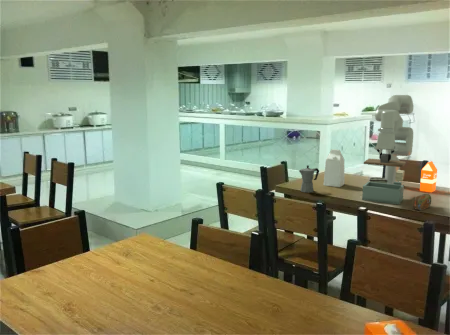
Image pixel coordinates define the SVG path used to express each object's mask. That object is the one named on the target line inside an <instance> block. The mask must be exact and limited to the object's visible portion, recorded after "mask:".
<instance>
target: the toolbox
mask: <svg viewBox="0 0 450 335" xmlns="http://www.w3.org/2000/svg"><path fill="white" fill-rule="evenodd" d="M404 188H405V187H404V185H403V181H399V182H397V181H394V184H386V183H376V182H370V181H366V183H365V184H363V185H362V193H361V194H362V196H361V198H362V199H361V200H362V201H370V202H377V203H378V202H379V203H385V204H393V205H400V204H401V203H402V201H403V200H404Z"/></svg>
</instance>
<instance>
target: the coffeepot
mask: <svg viewBox="0 0 450 335" xmlns="http://www.w3.org/2000/svg"><path fill="white" fill-rule="evenodd" d="M298 172H299V174H300V175H301V180H302V181H301V186H300V192H302V193H310V194H311V193H313V192H314V184H313V181H317V179H318V176H319V173H320V170H319V169H318V168H317V167H315V168H310V165H306V167H305V168H301V169H300V170H298ZM315 172H316V173H315ZM314 175H315V177H314Z"/></svg>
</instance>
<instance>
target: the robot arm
mask: <svg viewBox="0 0 450 335" xmlns="http://www.w3.org/2000/svg"><path fill="white" fill-rule="evenodd" d="M413 102H414V100H413V97H412V96H411V95H408V94H395V95H394V94H393V95H391V96H390V97H389V99H388V101H387V102H386V103H384V104H381V105H379V106H378V107H377V108H376V111H375V114H374V119H375V121H377V122H380V128H378V129H377V131H378V132H379V133H378V135H377V142H376V145H374V147H373V149H374V150H375V151H376V152H377V153H378V154H379V157H378V158H379V159H380V160H381V155H382V154H383V150H385V154H389V155H388V161H390V160H395V161H401V160H400V159H399V157H398V156H400V157H410V156H411V155H412V153H413V147H414V145H413V143H414V129H413V128H412V127H409V126H403V122H404V119H403V117H402V116H401V115H411V114H412V113H413V111H414V103H413ZM398 141H399V142H398ZM400 141H404V142H400ZM398 170H401V167H395V166H385V171H384V172H385V173H384V178H386V179H388V182H387V184H394V181H395V178H396V172H397V171H398ZM397 182H400V181H397Z"/></svg>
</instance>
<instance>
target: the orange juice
mask: <svg viewBox="0 0 450 335" xmlns="http://www.w3.org/2000/svg"><path fill="white" fill-rule="evenodd" d="M437 177H438V169H437V167H436V166H435V164H434V163H433V161H428V162H427V163H426V164H425V165H424V166H423V167H422V169H421V172H420V184H419V191H420V192H426V193H433V192H435V191H436V188H437Z"/></svg>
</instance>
